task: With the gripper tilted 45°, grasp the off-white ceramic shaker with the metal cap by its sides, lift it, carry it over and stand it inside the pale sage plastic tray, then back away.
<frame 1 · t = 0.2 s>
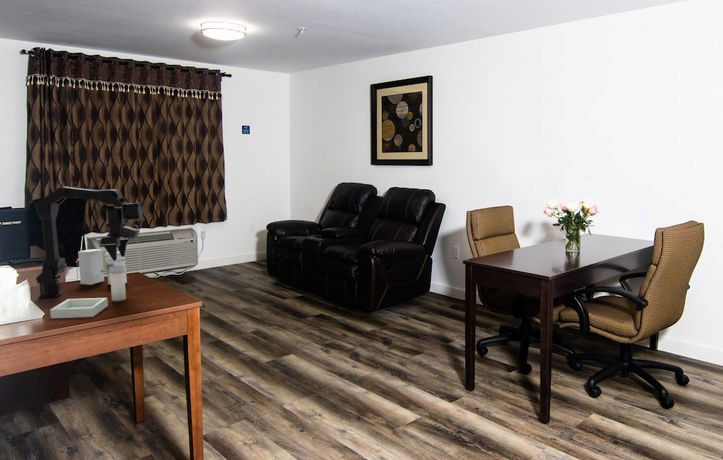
hand: (119, 258, 213), 15 cm above the table, tool pointing down, fingers open, 9 cm apart
skincare box: (92, 283, 235), on the table
syrup box: (117, 284, 232), on the table
shaker: (119, 299, 206), on the table
tray: (80, 311, 189), on the table
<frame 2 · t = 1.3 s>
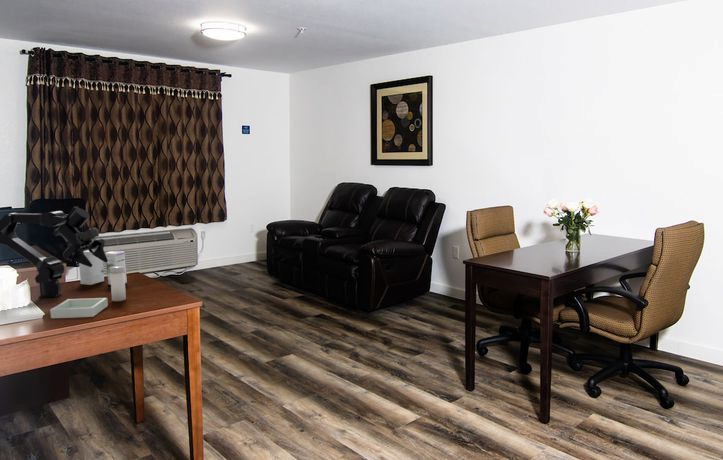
hand: (99, 263, 207), 14 cm above the table, tool tilted 45°, fingers open, 9 cm apart
nothing on the table moved.
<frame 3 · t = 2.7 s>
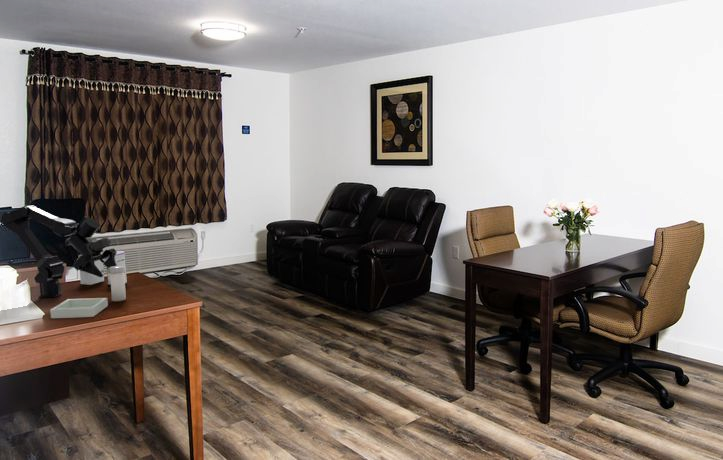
hand: (110, 274, 205), 10 cm above the table, tool tilted 45°, fingers open, 9 cm apart
nothing on the table moved.
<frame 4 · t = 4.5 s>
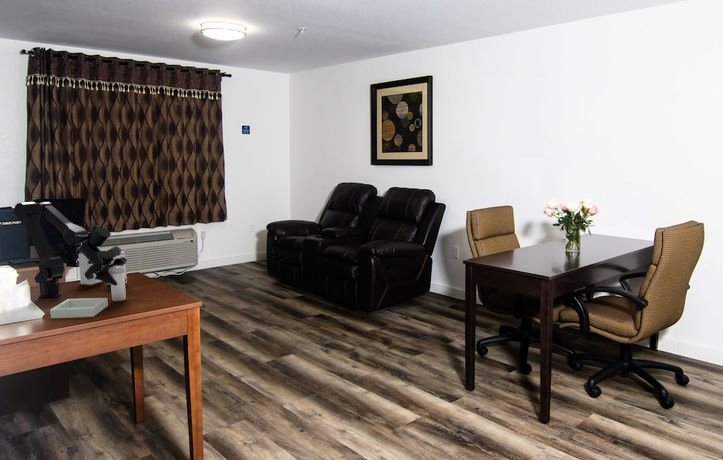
hand: (121, 283, 205), 7 cm above the table, tool tilted 45°, fingers closed on shaker, 5 cm apart
shaker: (119, 299, 206), on the table, touching gripper
everything else where it was.
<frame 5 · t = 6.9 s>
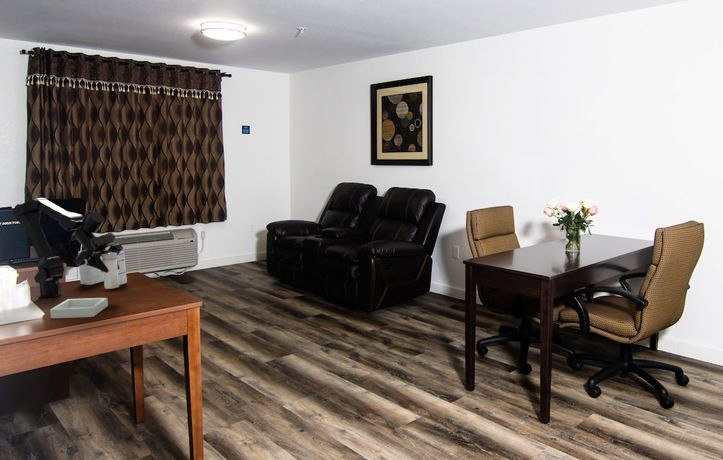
hand: (113, 270, 200), 13 cm above the table, tool tilted 45°, fingers closed on shaker, 5 cm apart
shaker: (111, 287, 201), point 6 cm above the table, touching gripper
everything else where it was.
when the fingers open (8 cm above the table, at t = 9.4 s): shaker drops 1 cm, resting on tray.
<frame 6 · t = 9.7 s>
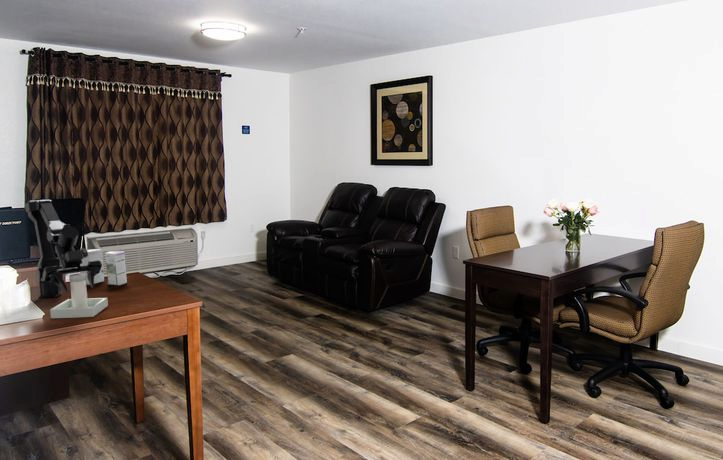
hand: (80, 289, 187), 9 cm above the table, tool tilted 45°, fingers open, 8 cm apart
shaker: (80, 310, 189), point 1 cm above the table, touching tray
everything else where it was.
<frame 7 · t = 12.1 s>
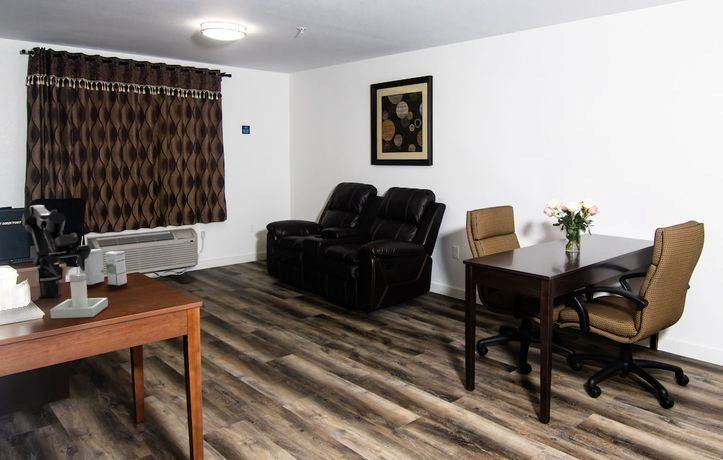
hand: (71, 272, 193), 13 cm above the table, tool tilted 45°, fingers open, 9 cm apart
nothing on the table moved.
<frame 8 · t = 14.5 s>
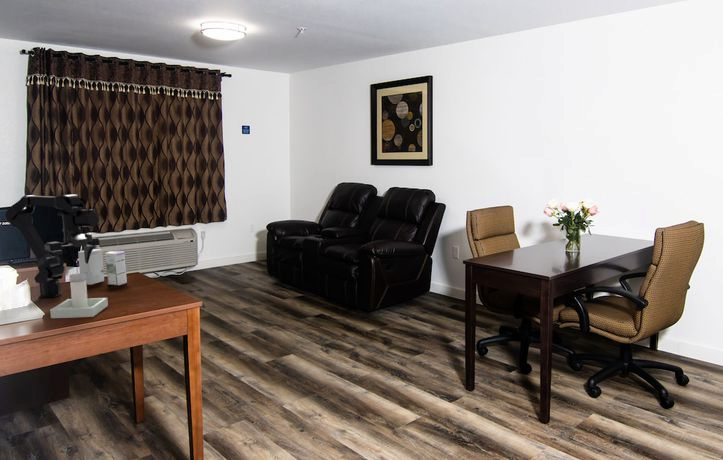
hand: (74, 265, 208), 13 cm above the table, tool pointing down, fingers open, 9 cm apart
nothing on the table moved.
at the end: shaker inside the target area on the tray (0.0 cm from its centre), point 0.6 cm above the tray's base; shaker tilted 0°; the gripper is holding nothing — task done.
